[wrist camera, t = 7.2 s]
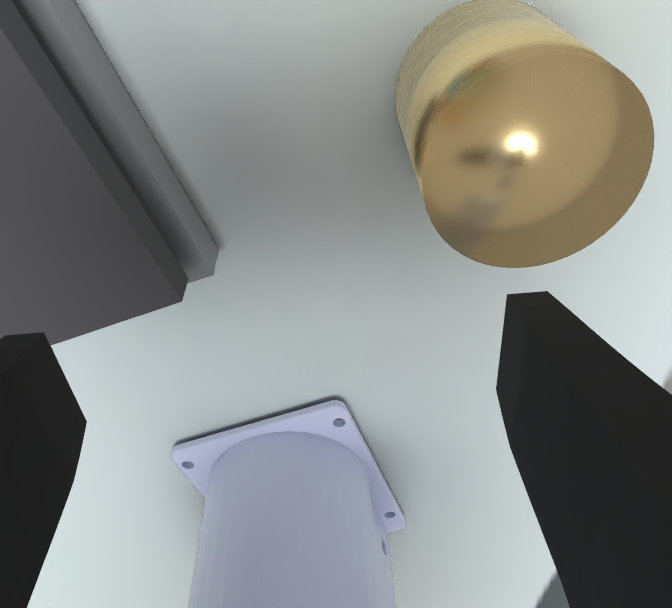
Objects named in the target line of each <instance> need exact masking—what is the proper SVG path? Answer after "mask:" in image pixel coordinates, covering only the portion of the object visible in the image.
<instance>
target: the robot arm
mask: <svg viewBox="0 0 672 608" xmlns="http://www.w3.org/2000/svg"><path fill="white" fill-rule="evenodd" d="M496 391H497V395H498V400H499V404H500V408H501V412H502V417H503V421H504V425H505V429H506V433H507V437H508V441H509V444H510V448H511V451H512V453H513V456H514V459H515V462H516V464H517V467H518V470H519V472H520V475H521V477H522V480H523V483H524V485H525V488H526V491H527V493H528V496H529V499H530V501H531V504H532V506H533V509H534V512H535V514H536V517H537V519H538V522H539V525H540V527H541V530H542V533H543V535H544V538H545V540H546V543H547V546H548V548H549V551H550V553H551V556H552V559H553V561H554V564H555V566H556V569H557V572H558V574H559V577H560V579H561V582H562V585H563V588H564V591H565V594H566V597H567V600H568V603H569V606H570V608H672V395H671V394H670V393H668V392H667V391H666V390H665V389H663V388H662V387H661V386H659V385H658V384H657V383H656V382H654V381H653V380H652V379H651V378H649V377H648V376H647V375H646V374H644V373H643V372H642V371H641V370H639V369H638V368H637V367H636V366H634V365H633V364H632V363H631V362H629V361H628V360H627V359H626V358H625V357H623V356H622V355H621V354H620V353H619V352H617V351H616V350H615V349H614V348H613V347H611V346H610V345H609V344H608V343H607V342H606V341H604V340H603V339H602V338H601V337H600V336H599V335H597V334H596V333H595V332H594V331H593V330H592V329H590V328H589V327H588V326H587V325H586V324H585V323H584V322H582V321H581V320H580V319H579V318H578V317H577V316H576V315H574V314H573V313H572V312H571V311H570V310H569V309H567V308H566V307H565V306H564V305H563V304H562V303H561V302H559V301H558V300H557V299H556V298H555V297H554V296H552V295H551V294H550V293H549V292H548V291H543V292H531V293H519V294H507V300H506V309H505V317H504V326H503V335H502V343H501V352H500V361H499V369H498V378H497V387H496ZM338 418H341V420H336V419H338ZM86 423H87V421H86V419H85V417H84V415H83V413H82V411H81V409H80V407H79V404H78V402H77V400H76V398H75V396H74V394H73V392H72V390H71V388H70V386H69V384H68V381H67V379H66V377H65V375H64V373H63V371H62V369H61V367H60V365H59V363H58V361H57V358H56V356H55V354H54V352H53V350H52V348H51V346H50V344H49V342H48V340H47V338H46V335H45V333H44V332H40V333H27V334H15V335H5V336H4V337H2V338H1V339H0V608H27V606H28V603H29V600H30V598H31V595H32V592H33V590H34V587H35V584H36V582H37V579H38V576H39V574H40V571H41V568H42V566H43V563H44V560H45V558H46V555H47V552H48V550H49V547H50V544H51V542H52V539H53V536H54V534H55V531H56V528H57V526H58V523H59V520H60V518H61V515H62V512H63V509H64V507H65V504H66V501H67V498H68V496H69V493H70V490H71V487H72V484H73V481H74V478H75V473H76V469H77V465H78V461H79V457H80V452H81V447H82V443H83V438H84V433H85V428H86ZM171 459H172V461H173V462H174V463H175V464H176V465H177V467H178V468H179V469H180V470H181V471H182V472H183V474H184V475H185V476H186V477H187V478H188V480H189V481H190V482H191V483H192V484H193V485H194V487H195V488H196V489H197V490H198V491H199V493H200V494H201V495H202V496H203V497H204V498H205V504H204V511H203V517H202V523H201V529H200V535H199V542H198V548H197V554H196V560H195V566H194V573H193V579H192V585H191V591H190V597H189V604H188V608H396V606H395V597H394V588H393V579H392V570H391V561H390V552H389V543H388V533H392V532H396V531H400V530H402V529H403V528H405V526H406V522H405V517H404V515H403V513H402V511H401V509H400V507H399V505H398V503H397V502H396V500H395V498H394V496H393V494H392V492H391V490H390V488H389V486H388V484H387V483H386V481H385V479H384V477H383V475H382V473H381V471H380V469H379V467H378V465H377V464H376V462H375V460H374V458H373V456H372V454H371V452H370V450H369V448H368V446H367V444H366V443H365V441H364V439H363V437H362V435H361V433H360V431H359V429H358V427H357V425H356V424H355V422H354V420H353V418H352V416H351V414H350V412H349V410H348V408H347V406H346V405H345V404H344V403H343V402H341V401H337V400H332V401H328V402H324V403H321V404H318V405H314V406H311V407H307V408H304V409H300V410H297V411H293V412H290V413H286V414H283V415H279V416H276V417H272V418H269V419H265V420H262V421H258V422H255V423H251V424H248V425H244V426H241V427H237V428H234V429H230V430H227V431H223V432H220V433H216V434H213V435H210V436H206V437H203V438H199V439H196V440H192V441H189V442H185V443H182V444H178V445H176V446H174V447H173V448H172V452H171Z"/></svg>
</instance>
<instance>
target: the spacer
mask: <svg viewBox="0 0 672 608" xmlns="http://www.w3.org/2000/svg"><path fill="white" fill-rule="evenodd" d="M395 102H396V111H397V116H398V120H399V124H400V127H401V130H402V133H403V136H404V140H405V143H406V146H407V149H408V152H409V155H410V159H411V162H412V165H413V168H414V171H415V174H416V178H417V181H418V184H419V187H420V190H421V193H422V197H423V200H424V203H425V206H426V209H427V212H428V214H429V217H430V219H431V222H432V223H433V225H434V227H435V228H436V230H437V232H438V233H439V234H440V235H441V237H442V238H443V239H444V240H445V241H446V242H447V243H448V244H449V245H450V246H451V247H452V248H454V249H455V250H456V251H458V252H459V253H461V254H462V255H464V256H466V257H468V258H470V259H472V260H474V261H477V262H480V263H483V264H487V265H491V266H497V267H507V268H522V267H532V266H538V265H543V264H547V263H550V262H554V261H557V260H559V259H562V258H565V257H567V256H569V255H572V254H574V253H576V252H578V251H580V250H582V249H583V248H585V247H587V246H588V245H590V244H592V243H593V242H594V241H596V240H597V239H598V238H600V237H601V236H602V235H604V234H605V233H606V232H607V231H608V230H609V229H611V228H612V227H613V226H614V225H615V224H616V223H617V222H618V221H619V220H620V218H621V217H622V216H623V215H624V214H625V213H626V212H627V210H628V209H629V207H630V206H631V205H632V203H633V202H634V201H635V199H636V197H637V195H638V194H639V192H640V190H641V188H642V186H643V184H644V182H645V179H646V177H647V175H648V171H649V168H650V165H651V161H652V155H653V149H654V129H653V121H652V117H651V114H650V111H649V107H648V105H647V103H646V101H645V99H644V97H643V95H642V93H641V92H640V91H639V89H638V88H637V87H636V85H635V84H634V83H633V82H632V81H631V80H630V79H629V78H628V77H627V76H626V75H625V74H624V73H622V72H621V71H620V70H618V69H617V68H615V67H614V66H613V65H611V64H610V63H609V62H607V61H606V60H604V59H603V58H602V57H600V56H599V55H598V54H596V53H595V52H594V51H592V50H591V49H589V48H588V47H587V46H585V45H584V44H583V43H581V42H580V41H579V40H577V39H576V38H574V37H573V36H572V35H570V34H569V33H568V32H566V31H565V30H563V29H562V28H561V27H559V26H558V25H557V24H555V23H554V22H553V21H551V20H550V19H548V18H547V17H546V16H544V15H543V14H542V13H540V12H539V11H537V10H536V9H534V8H533V7H531V6H529V5H526V4H524V3H522V2H519V1H515V0H473V1H470V2H467V3H464V4H461V5H459V6H457V7H455V8H452V9H450V10H449V11H447V12H445V13H444V14H442V15H441V16H439V17H438V18H437V19H435V20H434V21H433V22H432V23H431V24H429V25H428V26H427V27H426V28H425V29H424V30H423V32H422V33H421V34H420V35H419V36H418V37H417V39H416V40H415V41H414V43H413V44H412V46H411V47H410V49H409V51H408V53H407V54H406V56H405V59H404V61H403V63H402V66H401V68H400V72H399V75H398V79H397V85H396V99H395Z"/></svg>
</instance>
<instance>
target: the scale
mask: <svg viewBox="0 0 672 608" xmlns="http://www.w3.org/2000/svg"><path fill="white" fill-rule="evenodd" d="M12 1H13V3H14V5H15V6H16V8H17V9H18V11H19V12H20V14H21V16H22V17H23V19H24V20H25V22H26V23H27V25H28V27H29V28H30V30H31V31H32V33H33V34H34V36H35V38H36V39H37V41H38V42H39V44H40V45H41V47H42V49H43V50H44V52H45V53H46V55H47V56H48V58H49V60H50V61H51V63H52V64H53V66H54V67H55V69H56V71H57V72H58V74H59V75H60V77H61V78H62V80H63V82H64V83H65V85H66V86H67V88H68V89H69V91H70V93H71V94H72V96H73V97H74V99H75V100H76V102H77V104H78V105H79V107H80V108H81V110H82V111H83V113H84V115H85V116H86V118H87V119H88V121H89V122H90V124H91V126H92V127H93V129H94V130H95V132H96V133H97V135H98V137H99V138H100V140H101V141H102V143H103V144H104V146H105V148H106V149H107V151H108V152H109V154H110V155H111V157H112V159H113V160H114V162H115V163H116V165H117V166H118V168H119V170H120V171H121V173H122V174H123V176H124V177H125V179H126V181H127V182H128V184H129V185H130V187H131V188H132V190H133V192H134V193H135V195H136V196H137V198H138V199H139V201H140V203H141V204H142V206H143V207H144V209H145V210H146V212H147V214H148V215H149V217H150V218H151V220H152V221H153V223H154V225H155V226H156V228H157V229H158V231H159V232H160V234H161V236H162V237H163V239H164V240H165V242H166V243H167V245H168V247H169V248H170V250H171V251H172V253H173V254H174V256H175V258H176V259H177V261H178V262H179V264H180V265H181V267H182V269H183V270H184V272H185V273H186V275H187V276H188V282H187V283H190V282H193V281H196V280H199V279H202V278H205V277H208V276H211V275H213V273H214V269H215V264H216V260H217V256H218V251H219V249H218V247H217V246H216V244H215V242H214V240H213V239H212V237H211V235H210V234H209V232H208V230H207V228H206V227H205V225H204V223H203V221H202V220H201V218H200V216H199V215H198V213H197V211H196V209H195V208H194V206H193V204H192V202H191V201H190V199H189V197H188V196H187V194H186V192H185V190H184V189H183V187H182V185H181V183H180V182H179V180H178V178H177V177H176V175H175V173H174V171H173V170H172V168H171V166H170V164H169V163H168V161H167V159H166V158H165V156H164V154H163V152H162V151H161V149H160V147H159V145H158V144H157V142H156V140H155V139H154V137H153V135H152V133H151V132H150V130H149V128H148V126H147V125H146V123H145V121H144V120H143V118H142V116H141V114H140V113H139V111H138V109H137V107H136V106H135V104H134V102H133V101H132V99H131V97H130V95H129V94H128V92H127V90H126V88H125V87H124V85H123V83H122V82H121V80H120V78H119V76H118V75H117V73H116V71H115V69H114V68H113V66H112V64H111V63H110V61H109V59H108V57H107V56H106V54H105V52H104V50H103V49H102V47H101V45H100V44H99V42H98V40H97V38H96V37H95V35H94V33H93V32H92V30H91V28H90V26H89V25H88V23H87V21H86V19H85V18H84V16H83V14H82V13H81V11H80V9H79V7H78V6H77V4H76V2H75V0H12Z"/></svg>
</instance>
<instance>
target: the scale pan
mask: <svg viewBox="0 0 672 608" xmlns="http://www.w3.org/2000/svg"><path fill="white" fill-rule="evenodd" d="M187 282H188V276H187V275H186V273H185V272H184V270H183V269H182V267H181V265H180V264H179V262H178V261H177V259H176V258H175V256H174V254H173V253H172V251H171V250H170V248H169V247H168V245H167V243H166V242H165V240H164V239H163V237H162V236H161V234H160V232H159V231H158V229H157V228H156V226H155V225H154V223H153V221H152V220H151V218H150V217H149V215H148V214H147V212H146V210H145V209H144V207H143V206H142V204H141V203H140V201H139V199H138V198H137V196H136V195H135V193H134V192H133V190H132V188H131V187H130V185H129V184H128V182H127V181H126V179H125V177H124V176H123V174H122V173H121V171H120V170H119V168H118V166H117V165H116V163H115V162H114V160H113V159H112V157H111V155H110V154H109V152H108V151H107V149H106V148H105V146H104V144H103V143H102V141H101V140H100V138H99V137H98V135H97V133H96V132H95V130H94V129H93V127H92V126H91V124H90V122H89V121H88V119H87V118H86V116H85V115H84V113H83V111H82V110H81V108H80V107H79V105H78V104H77V102H76V100H75V99H74V97H73V96H72V94H71V93H70V91H69V89H68V88H67V86H66V85H65V83H64V82H63V80H62V78H61V77H60V75H59V74H58V72H57V71H56V69H55V67H54V66H53V64H52V63H51V61H50V60H49V58H48V56H47V55H46V53H45V52H44V50H43V49H42V47H41V45H40V44H39V42H38V41H37V39H36V38H35V36H34V34H33V33H32V31H31V30H30V28H29V27H28V25H27V23H26V22H25V20H24V19H23V17H22V16H21V14H20V12H19V11H18V9H17V8H16V6H15V5H14V3H13V1H12V0H0V339H1V338H2V337H4V336H5V335H15V334H27V333H40V332H44V333H45V335H46V338H47V340H48V342H49V344H50V345H53V344H56V343H59V342H62V341H65V340H68V339H71V338H74V337H77V336H80V335H83V334H86V333H89V332H92V331H95V330H98V329H101V328H104V327H107V326H110V325H113V324H116V323H119V322H122V321H125V320H128V319H131V318H134V317H137V316H140V315H143V314H146V313H149V312H152V311H155V310H158V309H161V308H164V307H167V306H170V305H173V304H176V303H179V302H181V301H182V300H183V296H184V292H185V289H186V285H187Z"/></svg>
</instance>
